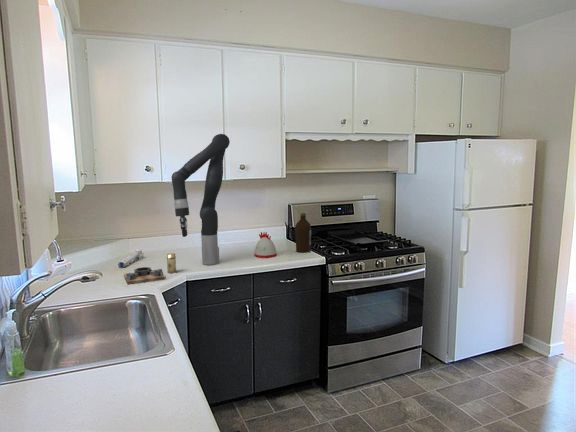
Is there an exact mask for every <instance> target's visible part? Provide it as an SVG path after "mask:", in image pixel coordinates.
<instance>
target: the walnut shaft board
mask: <svg viewBox="0 0 576 432" xmlns="http://www.w3.org/2000/svg"><path fill="white" fill-rule="evenodd" d="M155 270H156V269H151V271H155ZM123 278H124V280H125V282H126V284H127V286H128V285H135V284H143V283H149V282H156V281H164V280H166V276H165V275H164V274H163V275H162V276H155V275H146V276H139V277H136V279H134V280H127V273H123Z"/></svg>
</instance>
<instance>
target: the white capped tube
mask: <svg viewBox="0 0 576 432" xmlns="http://www.w3.org/2000/svg"><path fill="white" fill-rule="evenodd" d="M143 259H144V253H143V252H142V249H141V248H138V249H135V251H134V252H133V253H131V254H130V255H128V256H126V257H124V259H121V260H120V261H119V262H118V263H117V267H118V268H119V269H124V268H126V267H127V266H128V265H129V264H130V263H131V262H132V261H134V260H136V261H140V260H143Z"/></svg>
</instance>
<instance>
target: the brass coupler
mask: <svg viewBox="0 0 576 432" xmlns="http://www.w3.org/2000/svg"><path fill="white" fill-rule="evenodd" d="M176 256H177V255H176V253H174V252H173V253H172V252H171V253H170V252H169V253H167V254H166V264H167V265H166V267H167V273H168V274H175V272H176V273H177V261H176V258H177V257H176Z"/></svg>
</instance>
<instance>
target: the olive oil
mask: <svg viewBox="0 0 576 432" xmlns="http://www.w3.org/2000/svg"><path fill="white" fill-rule="evenodd" d="M294 232H295V234H294V235H295V252H297V253H300V254H301V253H302V254H305V253H310V252H311V249H312V248H311V247H312V245H311V244H312V225H311V223H310V222H309V221H308V220H307V219H306V213H305V212H301V213H300V219H299V221H297V223H295V226H294Z"/></svg>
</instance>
